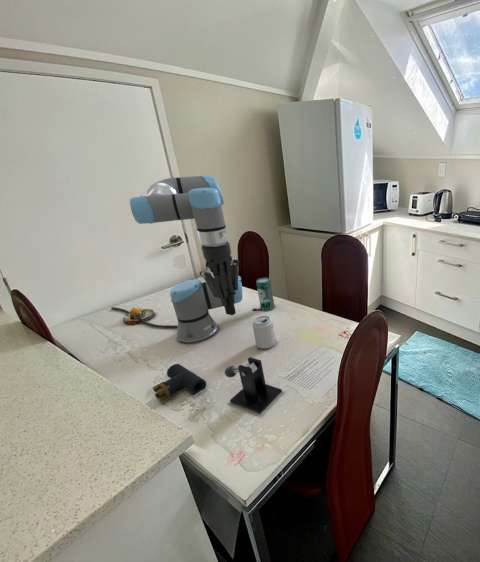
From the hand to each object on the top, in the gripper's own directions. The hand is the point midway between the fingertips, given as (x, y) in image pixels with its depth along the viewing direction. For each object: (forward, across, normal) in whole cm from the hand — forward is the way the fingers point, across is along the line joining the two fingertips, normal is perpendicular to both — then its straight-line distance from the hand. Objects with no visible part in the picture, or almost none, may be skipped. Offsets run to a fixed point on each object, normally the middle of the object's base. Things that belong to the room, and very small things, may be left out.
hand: (231, 313), depth 100 cm
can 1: (+25, +42, +26) cm, 55 cm away
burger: (+25, +11, +76) cm, 80 cm away
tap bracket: (+24, -8, -12) cm, 28 cm away
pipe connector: (+25, -15, +14) cm, 32 cm away
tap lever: (+16, -8, -9) cm, 20 cm away
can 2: (+25, +17, +5) cm, 30 cm away
